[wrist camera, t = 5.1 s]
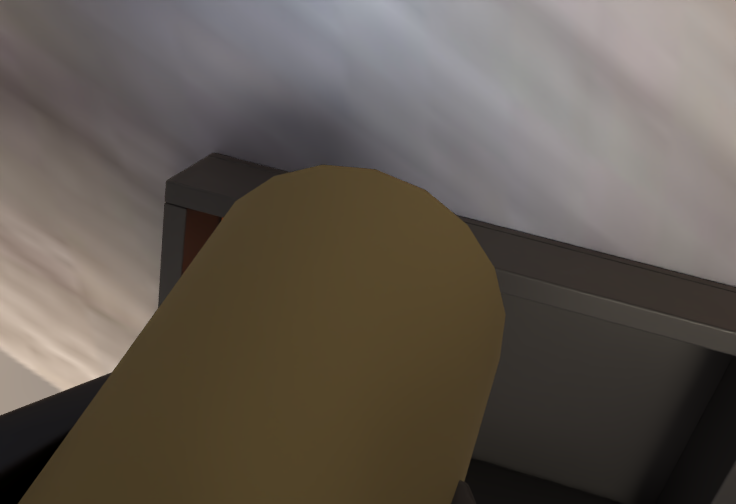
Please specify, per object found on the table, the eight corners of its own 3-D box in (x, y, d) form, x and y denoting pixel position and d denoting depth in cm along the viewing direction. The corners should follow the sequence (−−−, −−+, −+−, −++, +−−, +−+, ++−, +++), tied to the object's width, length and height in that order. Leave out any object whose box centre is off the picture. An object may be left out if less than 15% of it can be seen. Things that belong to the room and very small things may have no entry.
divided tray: (213, 151, 21) (165, 179, 18) (782, 299, 19) (829, 357, 16) (191, 381, 25) (149, 434, 22) (661, 523, 23) (681, 600, 20)
